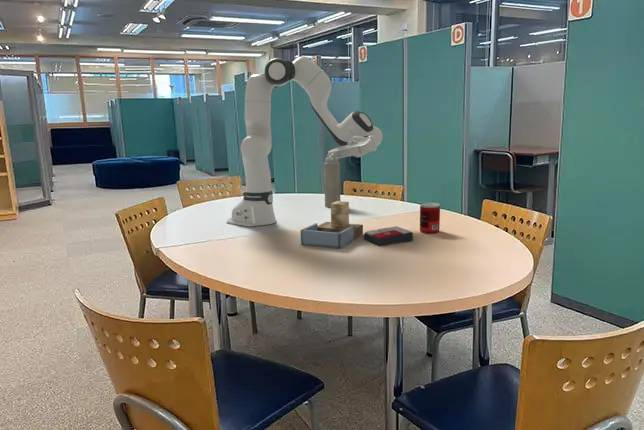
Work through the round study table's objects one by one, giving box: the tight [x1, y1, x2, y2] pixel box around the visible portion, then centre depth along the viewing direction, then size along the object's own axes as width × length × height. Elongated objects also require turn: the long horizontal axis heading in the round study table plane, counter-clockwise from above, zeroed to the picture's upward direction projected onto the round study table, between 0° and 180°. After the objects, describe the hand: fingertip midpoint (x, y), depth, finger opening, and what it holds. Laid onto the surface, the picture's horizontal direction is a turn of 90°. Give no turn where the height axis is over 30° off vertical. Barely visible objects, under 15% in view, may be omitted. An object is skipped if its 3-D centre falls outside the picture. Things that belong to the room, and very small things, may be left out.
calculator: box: [363, 225, 414, 247], centre depth 187 cm, size 11×4×15 cm
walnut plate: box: [317, 221, 364, 242], centre depth 195 cm, size 16×10×4 cm, turn 64°
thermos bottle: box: [323, 151, 341, 209], centre depth 253 cm, size 8×8×28 cm
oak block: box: [330, 200, 350, 227], centre depth 195 cm, size 5×6×9 cm
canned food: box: [419, 202, 441, 235], centre depth 198 cm, size 8×8×11 cm
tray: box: [300, 222, 354, 249], centre depth 185 cm, size 16×12×6 cm
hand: (340, 156), depth 199 cm, fingers open, 8 cm apart
